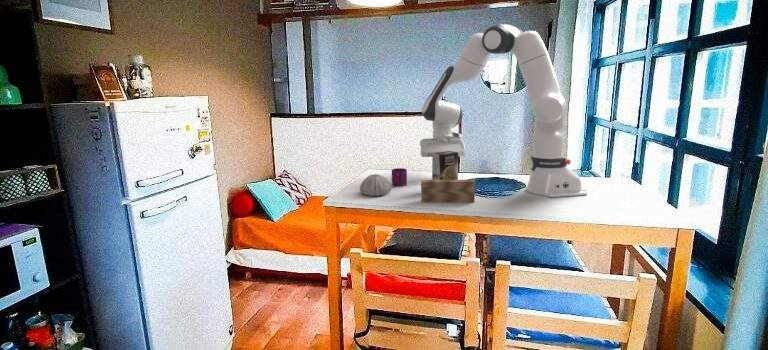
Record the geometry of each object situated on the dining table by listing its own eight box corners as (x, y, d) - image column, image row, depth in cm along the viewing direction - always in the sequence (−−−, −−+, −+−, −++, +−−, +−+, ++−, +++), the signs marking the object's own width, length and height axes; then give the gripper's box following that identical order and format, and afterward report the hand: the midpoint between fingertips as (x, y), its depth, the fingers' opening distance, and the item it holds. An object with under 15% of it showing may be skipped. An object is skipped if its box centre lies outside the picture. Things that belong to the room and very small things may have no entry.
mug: (408, 183, 181) (408, 168, 179) (402, 188, 172) (402, 173, 170) (394, 182, 183) (394, 167, 181) (387, 188, 174) (387, 172, 172)
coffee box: (440, 193, 163) (440, 154, 159) (431, 190, 168) (431, 152, 165) (458, 190, 167) (458, 152, 163) (449, 186, 172) (449, 150, 169)
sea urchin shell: (373, 200, 157) (373, 180, 155) (352, 193, 167) (352, 175, 165) (398, 193, 166) (397, 174, 164) (376, 187, 176) (376, 169, 174)
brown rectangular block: (472, 198, 155) (473, 178, 153) (474, 202, 150) (474, 181, 148) (421, 198, 157) (421, 178, 155) (421, 202, 152) (421, 182, 150)
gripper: (419, 134, 183) (419, 159, 176) (464, 134, 182) (466, 159, 174) (419, 142, 189) (419, 167, 182) (463, 142, 187) (465, 167, 180)
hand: (443, 163), depth 178 cm, fingers closed
